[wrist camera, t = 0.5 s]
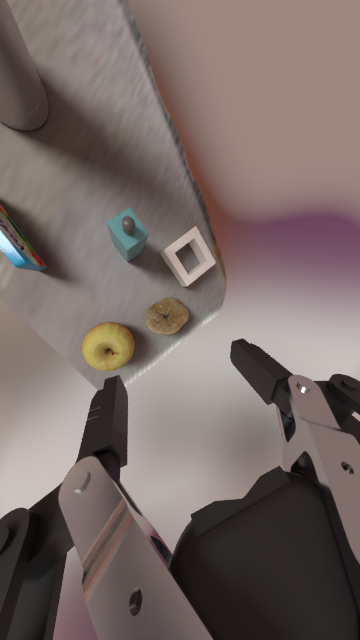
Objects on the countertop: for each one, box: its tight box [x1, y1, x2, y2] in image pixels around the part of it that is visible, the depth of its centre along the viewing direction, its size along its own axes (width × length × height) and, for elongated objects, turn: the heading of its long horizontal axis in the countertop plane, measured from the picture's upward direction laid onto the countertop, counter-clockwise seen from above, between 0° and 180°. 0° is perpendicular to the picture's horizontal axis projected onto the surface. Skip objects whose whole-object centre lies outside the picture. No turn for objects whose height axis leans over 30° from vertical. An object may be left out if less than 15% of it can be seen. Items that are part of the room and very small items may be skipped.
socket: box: [160, 226, 216, 286], centre depth 33 cm, size 9×9×4 cm
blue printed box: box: [0, 204, 47, 271], centre depth 22 cm, size 12×2×6 cm, turn 26°
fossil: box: [146, 297, 189, 335], centre depth 34 cm, size 9×4×10 cm
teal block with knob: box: [107, 207, 149, 262], centre depth 24 cm, size 4×4×13 cm
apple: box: [82, 322, 135, 371], centre depth 30 cm, size 10×10×8 cm
